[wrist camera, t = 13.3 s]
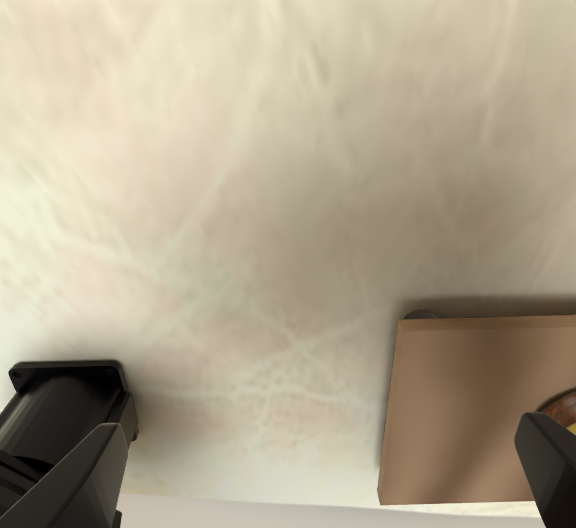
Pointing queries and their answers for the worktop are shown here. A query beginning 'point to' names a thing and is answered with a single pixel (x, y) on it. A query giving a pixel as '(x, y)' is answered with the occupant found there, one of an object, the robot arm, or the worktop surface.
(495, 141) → the worktop surface
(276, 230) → the worktop surface
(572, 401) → the sauce bottle
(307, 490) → the worktop surface
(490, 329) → the shelf stand
